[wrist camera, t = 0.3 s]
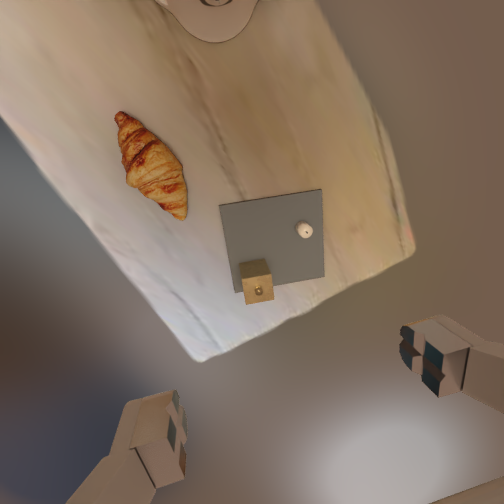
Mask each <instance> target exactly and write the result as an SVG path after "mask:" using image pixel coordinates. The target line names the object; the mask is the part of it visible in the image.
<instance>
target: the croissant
mask: <svg viewBox="0 0 504 504" xmlns="http://www.w3.org/2000/svg"><path fill="white" fill-rule="evenodd" d="M114 119H115V122H116V123H117V125H118V127H119V131H118V143H119V147H121V153H122V154H123V156H122V161H121V162H122V164H123V165H124V168H125V170H126V173H127V175H126V183H127V184H128V185H129V186H131V187H133V188H138V190H139V191H140V192H141V193H142V194H143V195H144V196H145V197H147V198H150V199H152V200H154V201H155V202H157V203H158V204H159V205H160V207H161V208H162V209H163V210H165V211H168V212H169V213H172V215H173V216H174V217H175V218H176V219H179V220H182V221H183V220H184V219H185V218H186V215H187V214H186V213H187V195H186V194H187V189H186V184H185V182H184V178H183V175H182V170H183V169H182V166H181V164H180V163H179V161H178V160H177V159H176V157H175V156H174V155H173V154H172V153H171V151H170V150H169V149H168V147H167V146H166V145H164V144H163V143H162V142H161V141H160V140H159V139H158V138H156V137H155V136H154V135H153V134H152V133H151V132H150V131H148V130H147V129H145V128H143V126H142V124H141V123H140V122H139V121H138V120H136V119H134V118H132V117H130V116H129V115H127V114H126V113H124V112H122V111H119V112H118V113H117V114H116V115H115V118H114Z"/></svg>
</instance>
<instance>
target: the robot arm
mask: <svg viewBox="0 0 504 504" xmlns="http://www.w3.org/2000/svg"><path fill="white" fill-rule="evenodd" d="M155 1H156V2H157V3H158V4H160V5H161V6H163V7H164V8H166V9H167V10H169V11H170V12H171V13H172V14H173V15H174V16H175V17H176V19H177V20H178V21H179V23H180V24H181V25H182V26H183V27H184V28H185V29H186V30H187V31H188V32H189V33H190V34H192V35H193V36H195V37H197V38H199V39H201V40H204V41H207V42H223V41H227V40H229V39H231V38H233V37H235V36H236V35H237V34H239V33H240V32H241V31H242V30H243V29H244V27H245V26H246V24H247V23H248V21H249V19H250V17H251V15H252V12H253V10H254V7H255V5H256V3H257V1H258V0H155ZM400 335H401V336H402V337H403V340H402V341H401V343H400V344H399V352H400V355H401V357H402V360H403V361H404V363H405V364H406V366H407V367H408V368H409V369H410V370H411V371H413V372H415V373H417V374H420V375H421V379H422V382H423V383H424V384H425V385H426V386H427V387H428V388H429V389H430V390H431V391H432V392H433V393H434V394H435V395H436V396H437V397H438V398H439V397H442V396H446V395H450V394H453V393H457V392H460V391H462V393H464V394H466V395H468V396H470V397H472V398H474V399H476V400H478V401H480V402H482V403H484V404H486V405H488V406H490V407H492V408H494V409H496V410H498V411H500V412H501V413H503V414H504V344H500V343H497V342H493V341H492V342H487V341H485V340H483V339H482V338H480V337H479V336H477V335H476V334H474V333H472V332H470V331H469V330H467V329H466V328H464V327H463V326H461V325H459V324H458V323H456V322H455V321H453V320H452V319H450V318H449V317H447V316H445V315H437V316H433V317H430V318H428V319H423V320H420V321H416V322H413V323H409V324H406V325H403V326H402V327H401V329H400ZM179 398H180V397H179V395H178V392H177V390H171V391H167V392H163V393H159V394H155V395H151V396H147V397H144V398H141V399H137V400H133V401H129V402H127V404H126V405H125V407H124V410H123V413H122V416H121V419H120V422H119V426H118V429H117V432H116V435H115V438H114V441H113V444H112V448H111V450H110V454H109V456H107V457H104V458H103V459H102V460H101V461H100V462H99V464H98V465H97V466H96V467H95V468H94V470H93V471H92V472H91V473H90V475H89V476H88V477H87V478H86V479H85V481H84V482H83V483H82V484H81V485H80V487H79V488H78V489H77V490H76V492H75V493H74V494H73V495H72V496H71V498H70V499H69V500H68V501H67V502H66V504H150V502H151V500H152V498H153V496H154V494H155V492H156V490H155V489H157V488H159V487H162V486H165V485H168V484H171V483H174V482H176V481H179V480H182V479H185V469H186V452H185V449H184V447H183V445H184V443H185V442H186V440H187V431H188V429H187V418H186V414H185V410H184V408H183V406H181V405H179ZM429 504H504V476H503V477H500V478H497V479H494V480H492V481H489V482H487V483H484V484H481V485H478V486H475V487H473V488H470V489H467V490H465V491H462V492H459V493H456V494H454V495H451V496H448V497H446V498H443V499H440V500H437V501H435V502H432V503H429Z"/></svg>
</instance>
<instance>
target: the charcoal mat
mask: <svg viewBox="0 0 504 504" xmlns="http://www.w3.org/2000/svg"><path fill="white" fill-rule="evenodd" d="M219 207H220V213H221V218H222V224H223V229H224V235H225V240H226V246H227V251H228V256H229V262H230V267H231V273H232V278H233V284H234V289H235V293H238V292H243V286H242V280H241V274H240V268H239V263H242V262H248V261H254V260H260V259H265V261H266V263H267V265H268V268H269V270H270V272H271V275H272V284H273V286H276V285H282V284H287V283H293V282H299V281H304V280H310V279H315V278H321V277H325V276H324V243H323V209H322V190H321V189H319V190H312V191H306V192H300V193H294V194H287V195H281V196H275V197H268V198H262V199H256V200H249V201H243V202H237V203H230V204H224V205H219ZM300 221H304V222H306V223H307V224H308V225H309V226H311V227H312V229H313V233H312V235H311V236H310V237H308V238H303V237H301V236H300V235H299V234H298V233H297V232H296V230H295V226H296V224H297V223H298V222H300Z"/></svg>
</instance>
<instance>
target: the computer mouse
mask: <svg viewBox="0 0 504 504" xmlns="http://www.w3.org/2000/svg"><path fill="white" fill-rule="evenodd" d="M295 230H296V232H297V233H298V234H299V235H300V236H301V237H303V238H308V237H310V236H311V235H312V233H313V229H312V227H311V226H309V225H308V224H307V223H306V222H304V221H300V222H298V223H297V224H296V226H295Z"/></svg>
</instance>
